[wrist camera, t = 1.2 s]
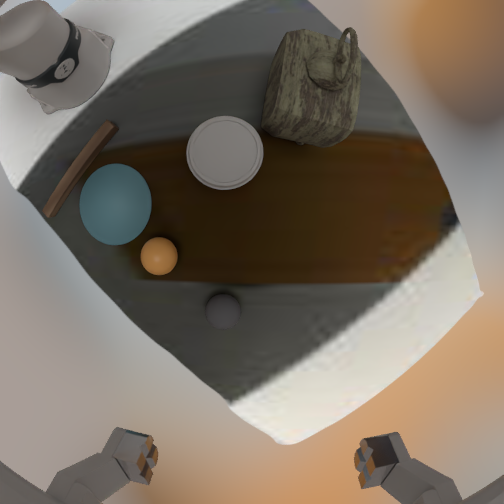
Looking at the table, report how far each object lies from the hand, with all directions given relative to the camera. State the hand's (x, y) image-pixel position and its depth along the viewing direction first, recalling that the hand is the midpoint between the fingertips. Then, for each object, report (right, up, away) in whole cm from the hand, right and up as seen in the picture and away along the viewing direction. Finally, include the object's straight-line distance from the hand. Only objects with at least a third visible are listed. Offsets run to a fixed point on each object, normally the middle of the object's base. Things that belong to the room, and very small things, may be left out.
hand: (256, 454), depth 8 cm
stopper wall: (-30, +22, +32) cm, 49 cm away
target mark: (-24, +16, +34) cm, 44 cm away
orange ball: (-15, +7, +34) cm, 38 cm away
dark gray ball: (-5, -2, +37) cm, 38 cm away
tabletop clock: (+6, +32, +34) cm, 47 cm away
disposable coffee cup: (-5, +22, +35) cm, 42 cm away
